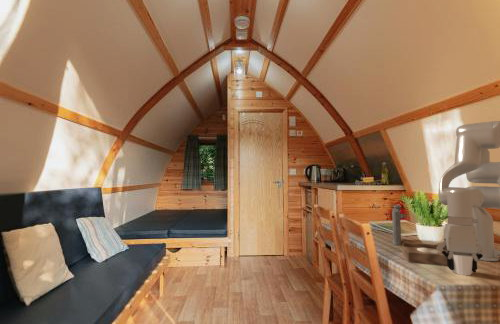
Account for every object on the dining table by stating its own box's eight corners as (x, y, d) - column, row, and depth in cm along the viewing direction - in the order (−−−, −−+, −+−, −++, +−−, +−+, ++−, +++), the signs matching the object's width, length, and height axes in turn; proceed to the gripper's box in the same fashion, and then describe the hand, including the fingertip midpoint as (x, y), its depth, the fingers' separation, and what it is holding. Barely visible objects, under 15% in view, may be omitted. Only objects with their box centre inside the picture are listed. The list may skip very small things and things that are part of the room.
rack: (449, 258, 121) (448, 245, 121) (459, 266, 110) (459, 252, 110) (402, 254, 127) (402, 242, 127) (408, 262, 116) (408, 248, 116)
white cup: (478, 276, 99) (477, 256, 99) (456, 275, 100) (455, 255, 100) (467, 270, 105) (466, 251, 106) (447, 269, 107) (446, 250, 107)
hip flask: (393, 238, 160) (392, 204, 161) (401, 239, 158) (400, 204, 159) (392, 244, 146) (392, 206, 147) (401, 245, 144) (400, 207, 145)
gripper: (483, 221, 105) (485, 269, 104) (430, 218, 110) (432, 264, 109) (493, 224, 97) (495, 276, 97) (436, 221, 103) (438, 270, 102)
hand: (461, 269), depth 103 cm, fingers closed on white cup, 6 cm apart
